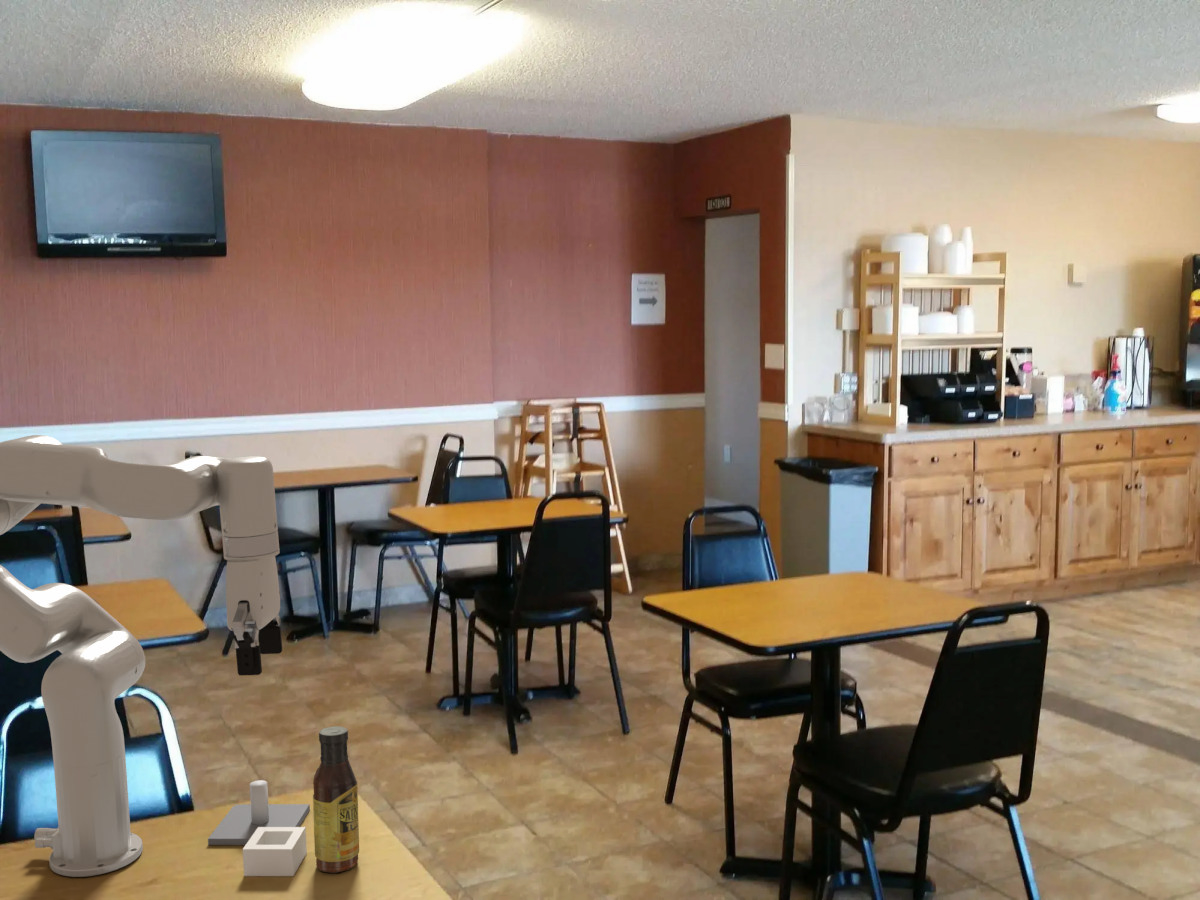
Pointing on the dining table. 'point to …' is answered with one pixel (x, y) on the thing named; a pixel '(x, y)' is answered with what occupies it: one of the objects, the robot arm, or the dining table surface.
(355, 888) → the dining table surface
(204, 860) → the dining table surface
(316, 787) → the sauce bottle
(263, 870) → the white block
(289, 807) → the post base
